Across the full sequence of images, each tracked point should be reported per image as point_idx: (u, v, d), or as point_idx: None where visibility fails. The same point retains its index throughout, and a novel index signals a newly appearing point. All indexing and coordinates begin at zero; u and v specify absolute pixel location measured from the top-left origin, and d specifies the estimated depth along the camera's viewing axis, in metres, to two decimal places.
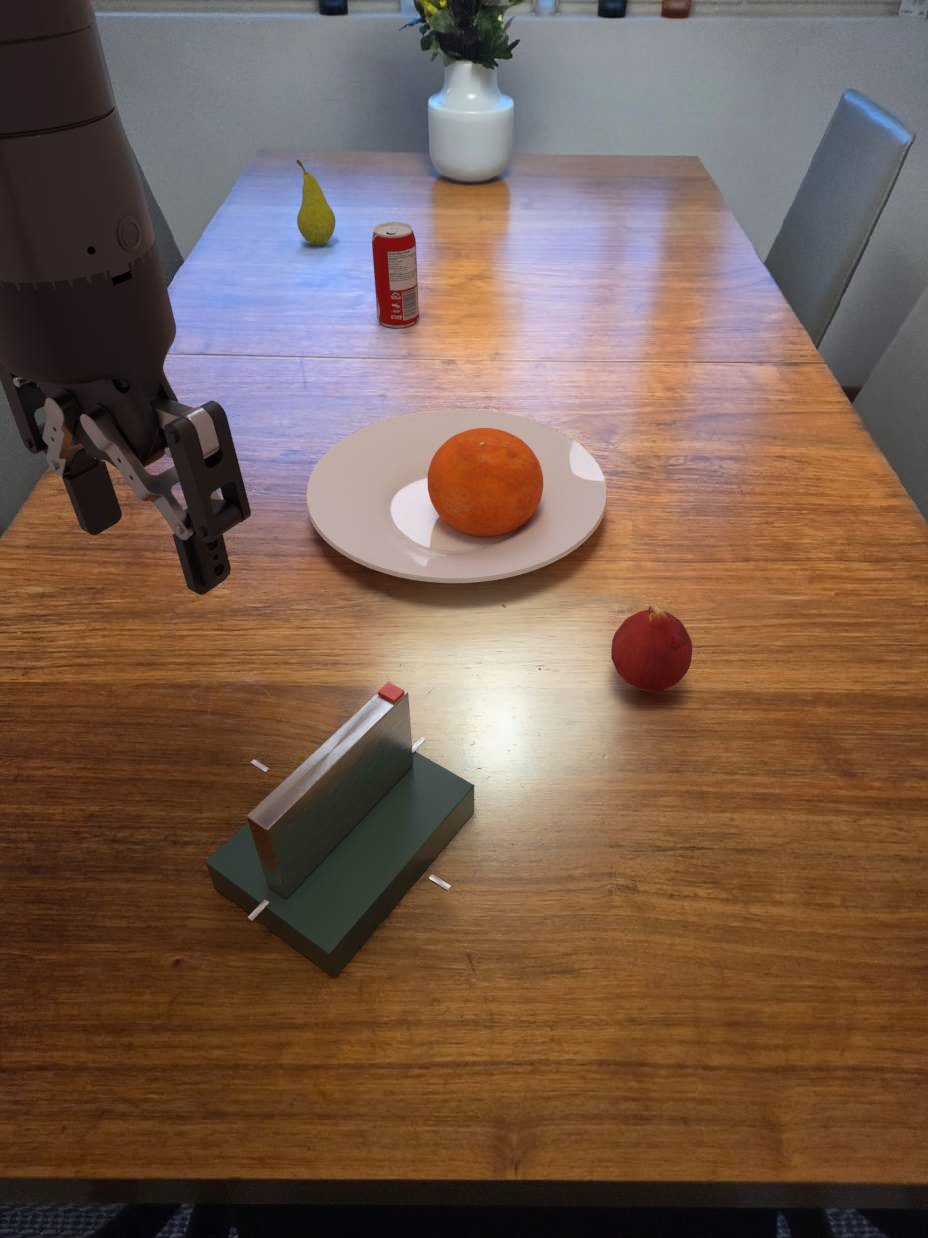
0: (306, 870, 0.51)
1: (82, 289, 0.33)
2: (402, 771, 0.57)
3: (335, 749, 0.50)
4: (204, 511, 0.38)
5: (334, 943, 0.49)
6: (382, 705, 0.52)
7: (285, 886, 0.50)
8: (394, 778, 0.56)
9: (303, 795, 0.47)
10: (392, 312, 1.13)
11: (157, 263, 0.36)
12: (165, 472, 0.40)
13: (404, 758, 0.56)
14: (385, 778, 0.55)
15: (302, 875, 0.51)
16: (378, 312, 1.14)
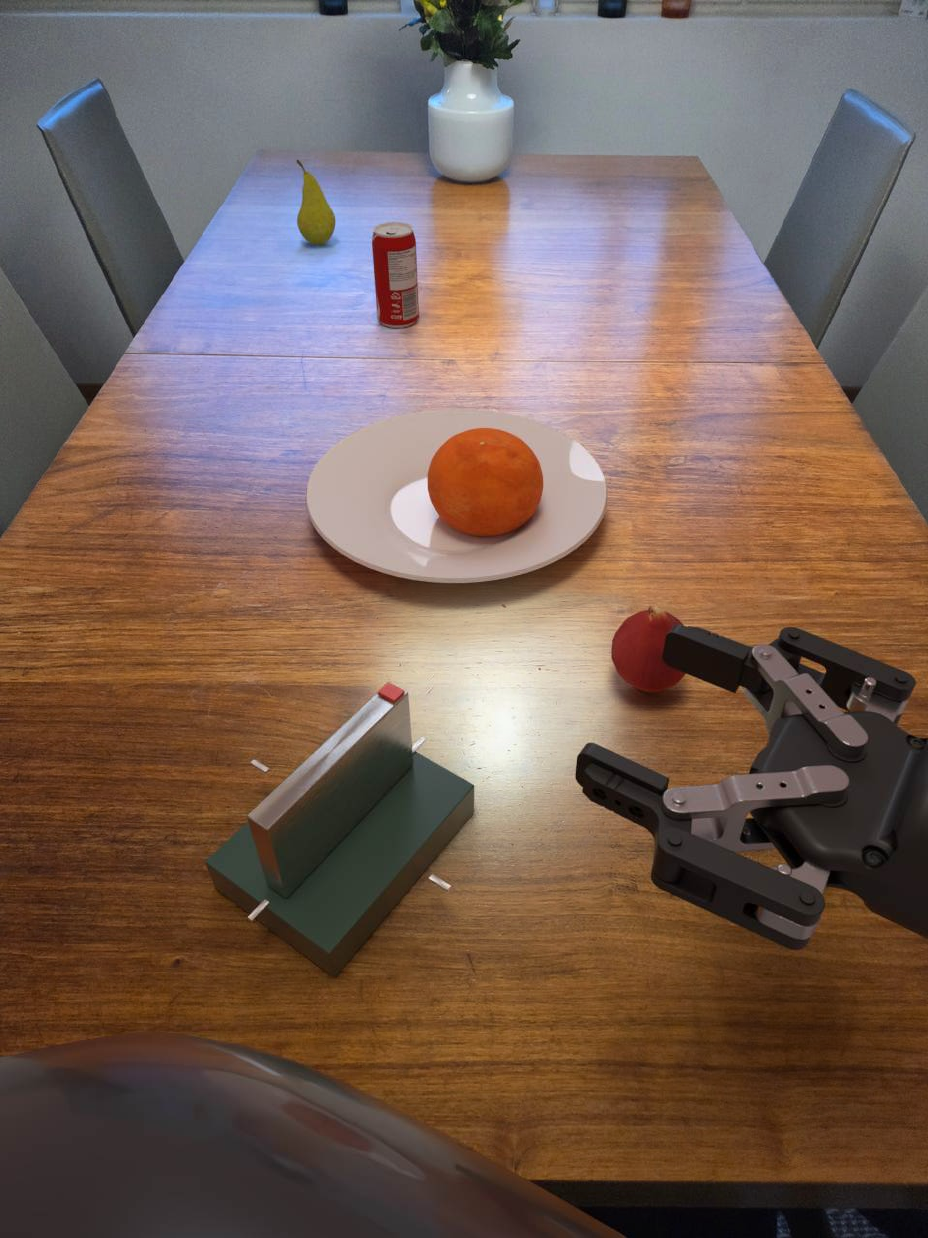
0: (306, 870, 0.51)
1: None
2: (402, 771, 0.57)
3: (335, 749, 0.50)
4: (703, 868, 0.31)
5: (334, 943, 0.49)
6: (382, 705, 0.52)
7: (285, 886, 0.50)
8: (394, 778, 0.56)
9: (303, 795, 0.47)
10: (392, 312, 1.13)
11: None
12: (743, 820, 0.33)
13: (404, 758, 0.56)
14: (385, 778, 0.55)
15: (302, 875, 0.51)
16: (378, 312, 1.14)
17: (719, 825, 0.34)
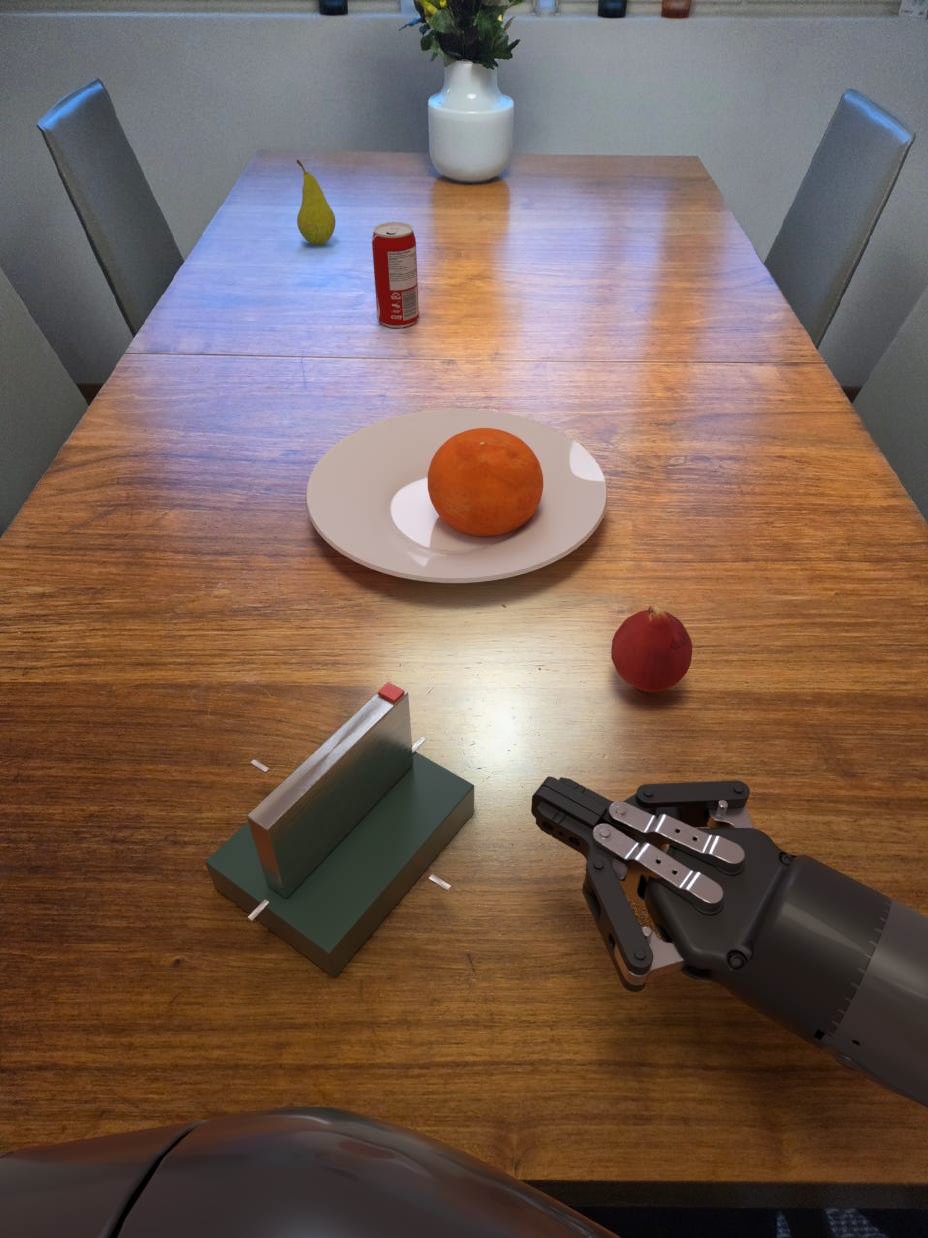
0: (306, 870, 0.51)
1: (831, 1013, 0.37)
2: (402, 771, 0.57)
3: (335, 749, 0.50)
4: (597, 891, 0.42)
5: (334, 943, 0.49)
6: (382, 705, 0.52)
7: (285, 886, 0.50)
8: (394, 778, 0.56)
9: (303, 795, 0.47)
10: (392, 312, 1.13)
11: None
12: (638, 877, 0.43)
13: (404, 758, 0.56)
14: (385, 778, 0.55)
15: (302, 875, 0.51)
16: (378, 312, 1.14)
17: None
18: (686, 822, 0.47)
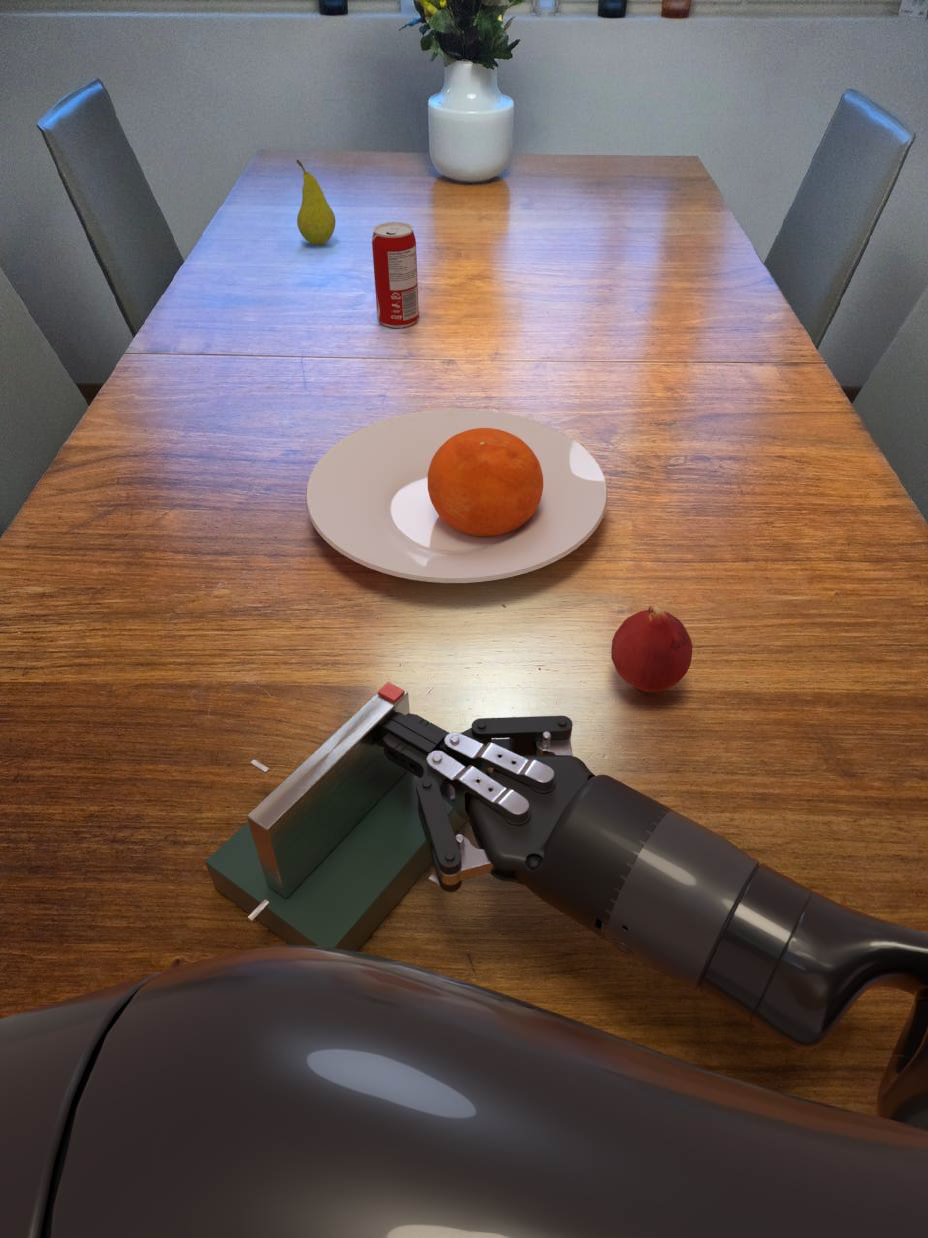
0: (306, 870, 0.51)
1: (604, 903, 0.43)
2: (402, 771, 0.57)
3: (335, 749, 0.50)
4: (422, 806, 0.47)
5: (334, 943, 0.49)
6: (382, 705, 0.52)
7: (285, 886, 0.50)
8: (394, 778, 0.56)
9: (303, 795, 0.47)
10: (392, 312, 1.13)
11: None
12: (463, 796, 0.49)
13: None
14: (385, 778, 0.55)
15: (302, 875, 0.51)
16: (378, 312, 1.14)
17: None
18: (518, 753, 0.52)
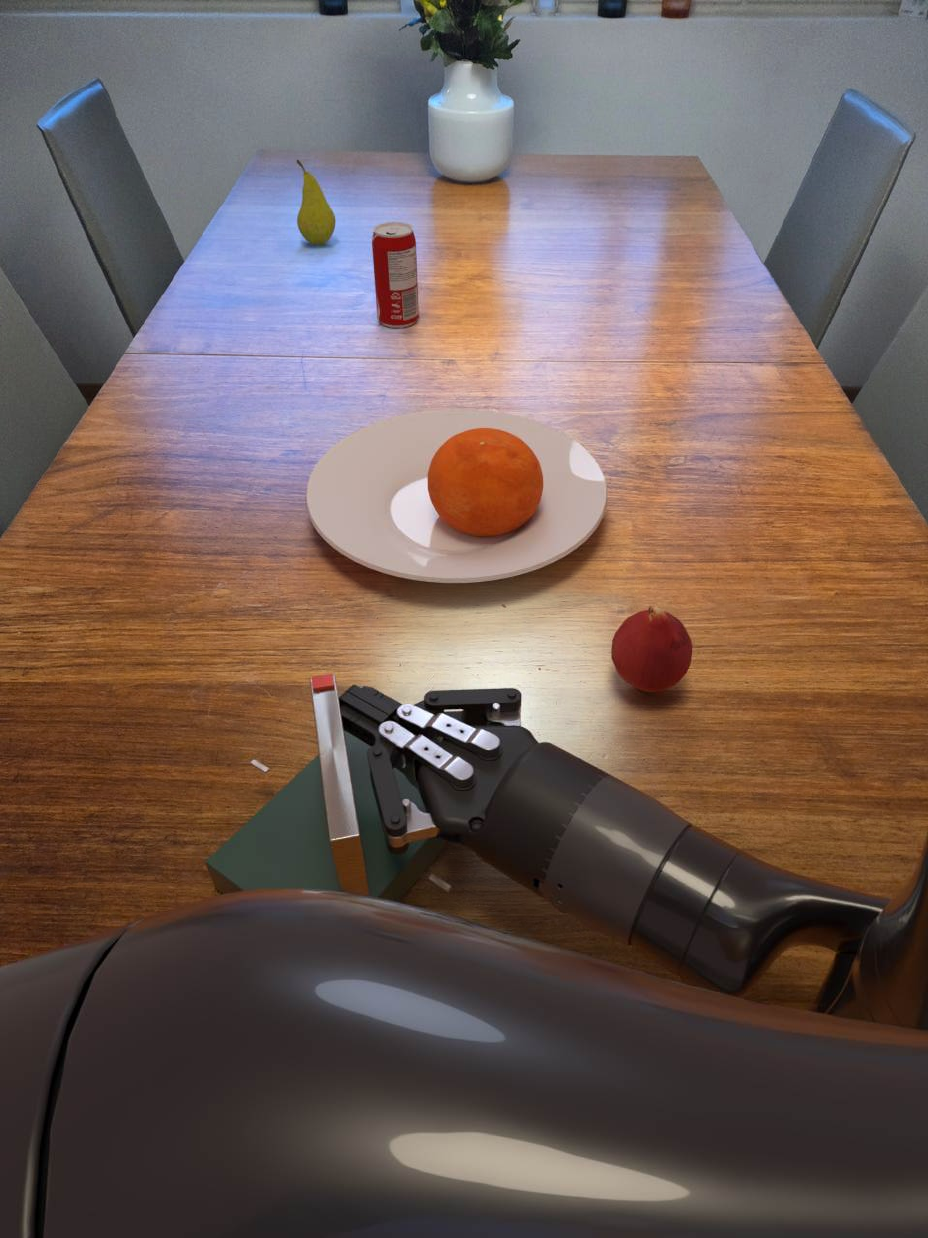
0: None
1: (541, 862, 0.44)
2: None
3: (334, 747, 0.50)
4: (371, 772, 0.49)
5: None
6: (327, 695, 0.53)
7: (368, 891, 0.50)
8: None
9: (353, 794, 0.47)
10: (392, 312, 1.13)
11: None
12: (413, 764, 0.50)
13: None
14: None
15: None
16: (378, 312, 1.14)
17: None
18: (470, 724, 0.54)
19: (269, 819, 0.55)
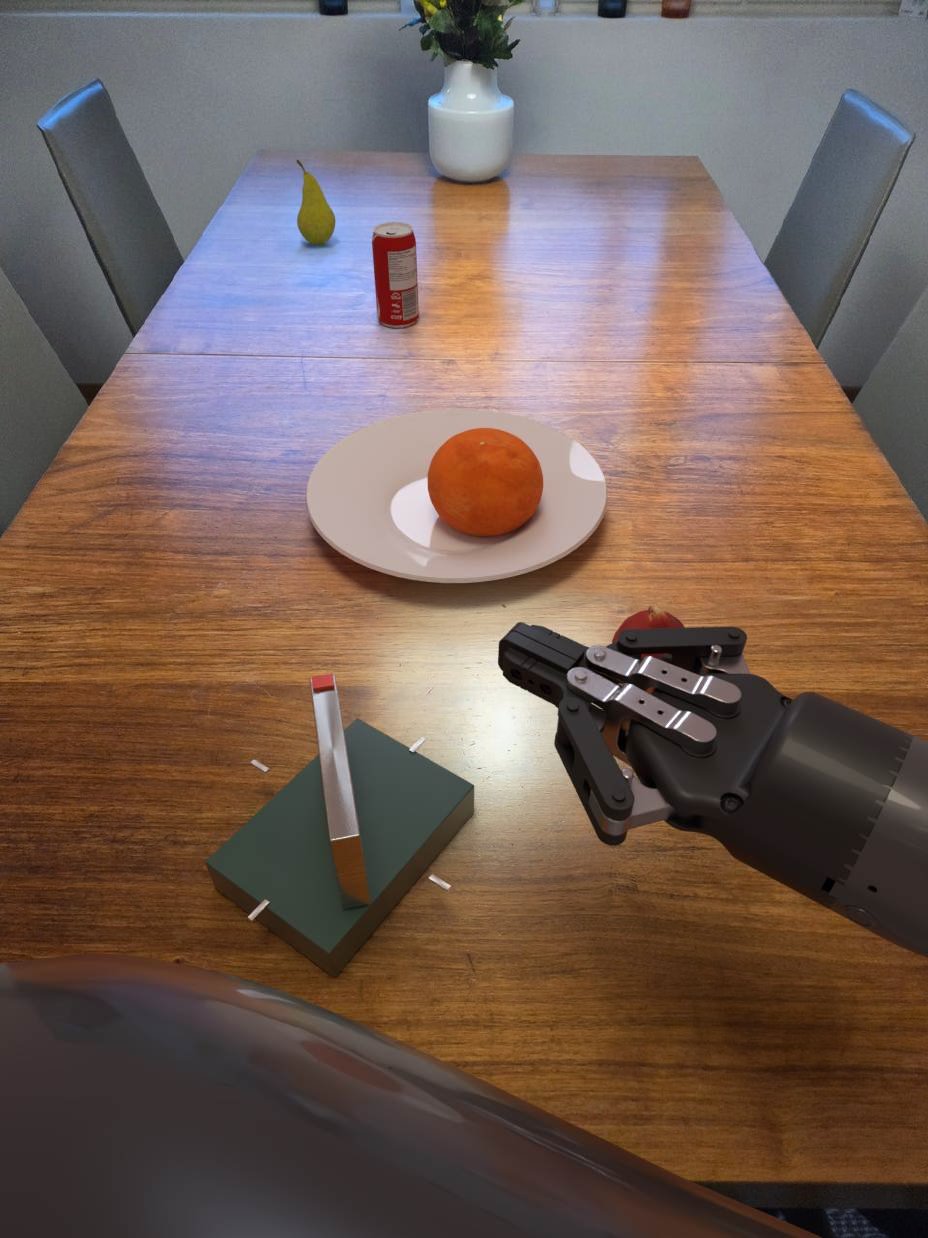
0: None
1: (843, 855, 0.31)
2: None
3: (334, 747, 0.50)
4: (571, 733, 0.36)
5: (334, 943, 0.49)
6: (327, 695, 0.53)
7: (368, 891, 0.50)
8: None
9: (353, 794, 0.47)
10: (392, 312, 1.13)
11: None
12: (618, 723, 0.37)
13: None
14: None
15: None
16: (378, 312, 1.14)
17: None
18: None
19: (269, 819, 0.55)
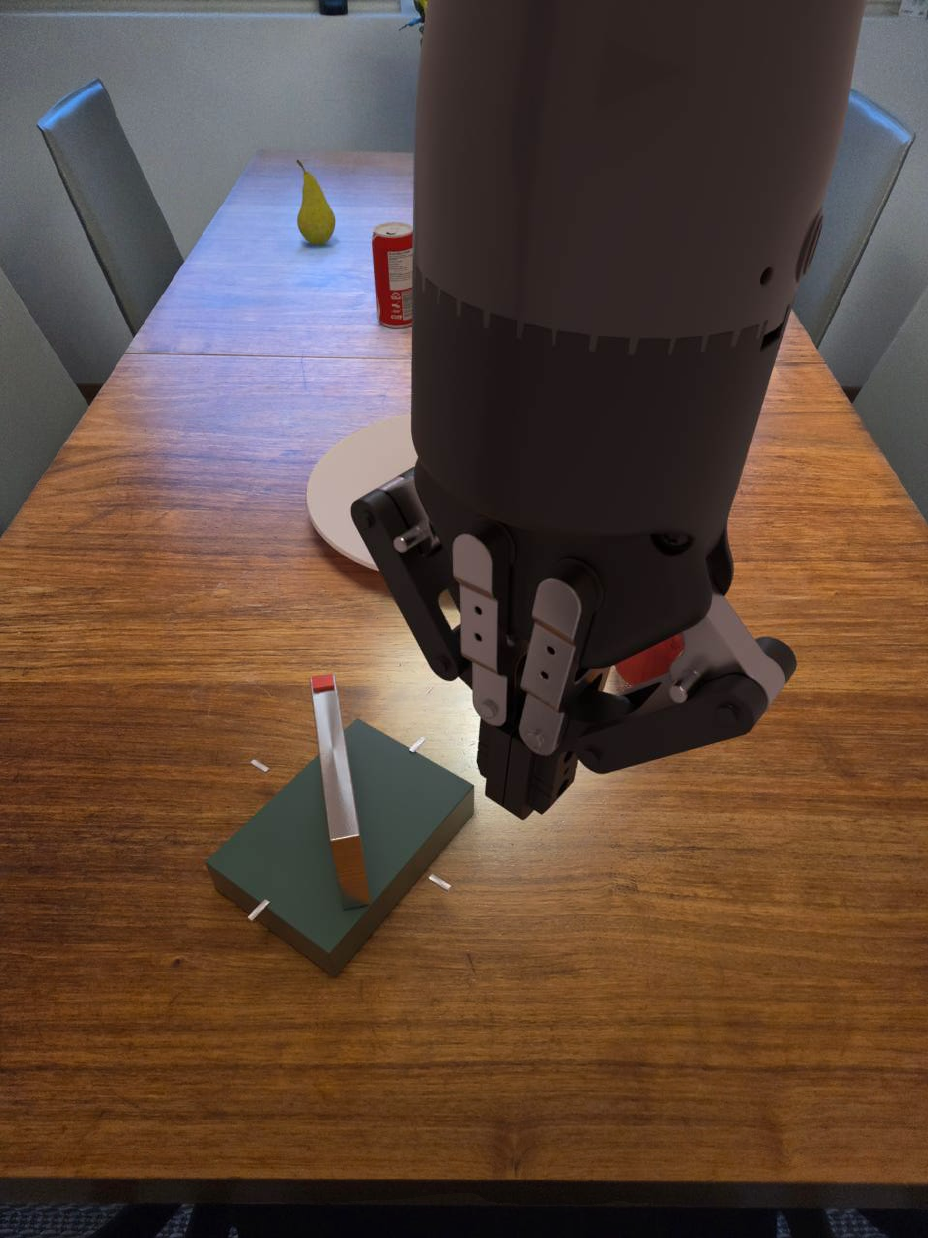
0: None
1: (716, 359, 0.15)
2: None
3: (334, 747, 0.50)
4: (638, 763, 0.22)
5: (334, 943, 0.49)
6: (327, 695, 0.53)
7: (368, 891, 0.50)
8: None
9: (353, 794, 0.47)
10: (392, 312, 1.13)
11: None
12: (586, 676, 0.23)
13: None
14: None
15: None
16: (378, 312, 1.14)
17: None
18: None
19: (269, 819, 0.55)
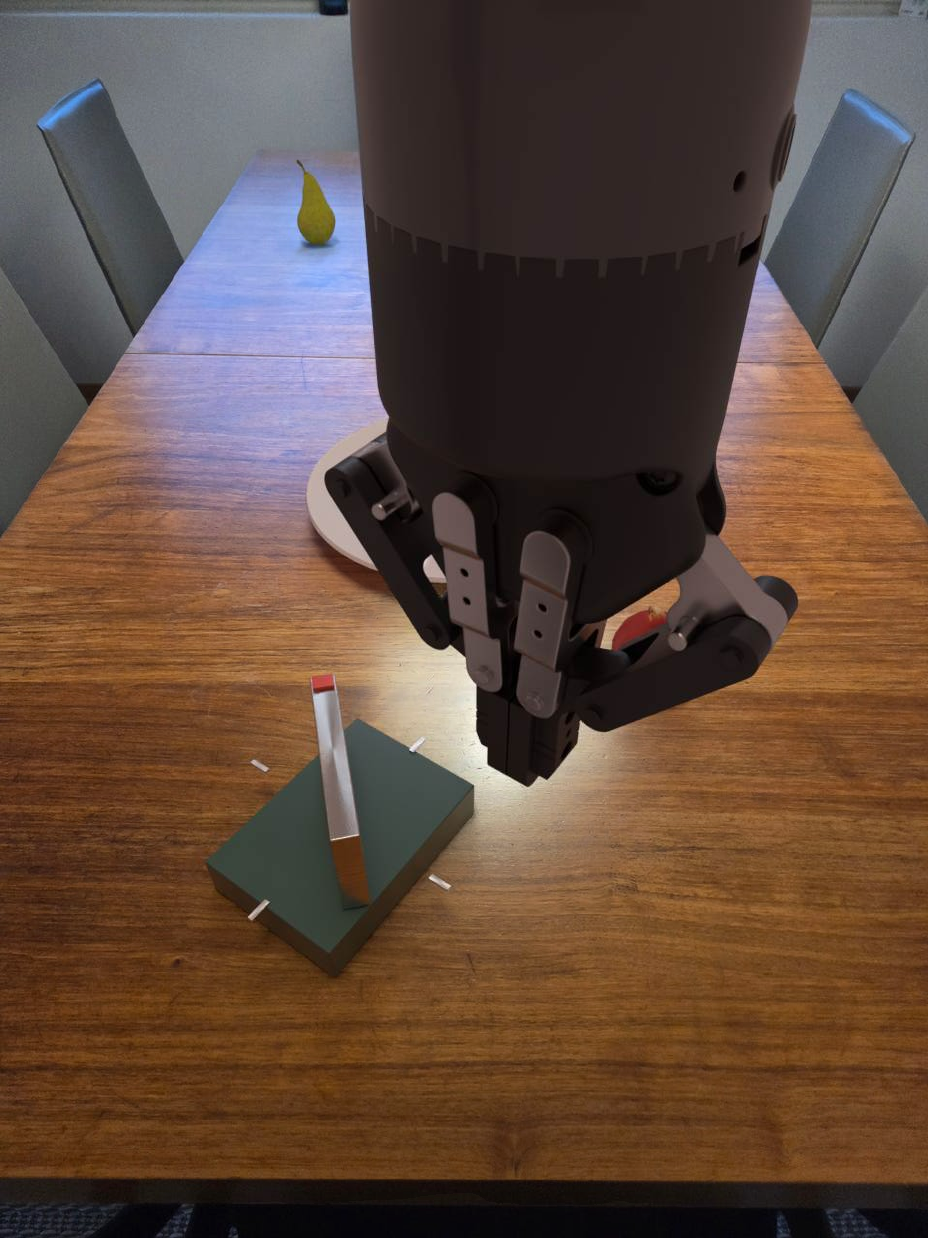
0: None
1: (692, 276, 0.14)
2: None
3: (334, 747, 0.50)
4: (641, 718, 0.22)
5: (334, 943, 0.49)
6: (327, 695, 0.53)
7: (368, 891, 0.50)
8: None
9: (353, 794, 0.47)
10: None
11: None
12: (581, 632, 0.22)
13: None
14: None
15: None
16: None
17: None
18: None
19: (269, 819, 0.55)
